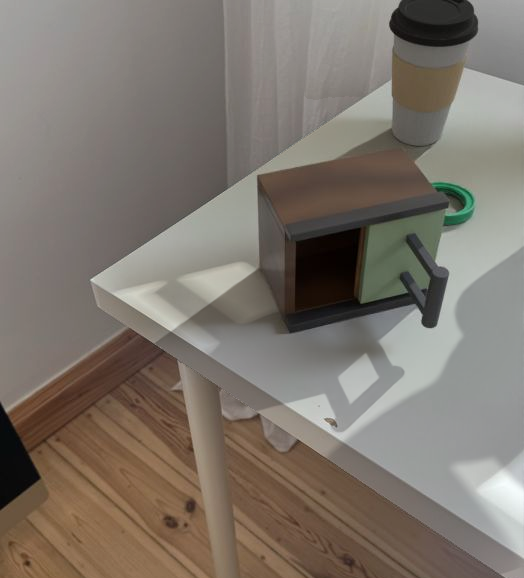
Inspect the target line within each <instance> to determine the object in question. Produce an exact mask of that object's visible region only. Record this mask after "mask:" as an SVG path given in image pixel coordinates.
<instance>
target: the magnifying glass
mask: <svg viewBox="0 0 524 578" xmlns="http://www.w3.org/2000/svg"><path fill="white" fill-rule="evenodd" d="M429 182H430V183H431V184H432V186H433V187H434V188H435V190H436V191H437V192H440V191H442V192H443V193H444V194H448V195H452V196H454V197H456V198H458V199H459V200H460V201H461V202H462V204H463V206H464V208H462V209H461V210H459V211H457V212H453V213H445V218H444V223H443V226H451V225H458V224H461V223H464V222H466V221H468V220H469V219H470V218H472V216H473V214H474V212H475V208H476V203H477V202H476V197H475V196H474V194H473V193H472V192H471V191H470V190H469V189H468V188H466V187H464V186H462V185H459V184H458V183H457V184H456V183H453V182H450V181H429Z"/></svg>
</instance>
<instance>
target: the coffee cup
mask: <svg viewBox="0 0 524 578" xmlns="http://www.w3.org/2000/svg"><path fill="white" fill-rule="evenodd" d="M397 6H398V7H396V8H395V9H394V10H393V12H392V13H391V16H390V19H389V21H388V27H389V29H390V32H391V33H392V34H393V46H392V49H391V98H392V115H391V116H392V121H391V123H392V127H391V128H392V129H391V131H392V134H393V136H394V137H395V138H396V139H397V140H398V141H399V142H401V143H404V144H407V145H410V146H414V147H424V146H429V145H432V144H434V143H436V142H438V141H439V140H440V139H441V137H442V136H443V132H444V129H445V125H446V122H447V119H448V116H449V114H450V109H451V106H452V104H453V102H454V101H455V98H456V95H457V92H458V88H459V86H460V82H461V78H462V75H463V72H464V69H465V66H466V63H467V59H468V57H469V49H470V45H471V41H472V40H473V39H474V38H475V37H476V36H477V34H478V32H479V19H478V17H477V15H476V13H475V7H474V5H473V3H471V1H469V0H400V2H399V3H398V5H397Z"/></svg>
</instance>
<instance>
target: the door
mask: <svg viewBox="0 0 524 578" xmlns="http://www.w3.org/2000/svg"><path fill="white" fill-rule="evenodd" d="M445 214H447V209H443V210H438V211H434V212H429V213H425V214H420V215H415V216H411V217H406V218H401V219H397V220H392V221H388V222H383V223H378V224H374V225H369V226H366V232H365V241H364V250H363V259H362V268H361V277H360V286H359V295H358V300H359V302H360V303H361V304H362V303H367V302H371V301H375V300H379V299H383V298H388V297H392V296H396V295H400V294H405V293H409V294H410V296H411V298H412V299H413V301H414V302H415V303H414V304H415V306H416V308H417V309H418V310H419V311H420V313H421V320H420V324H421V325H422V326H423V327H424V328H425V329H435V328H436V327H437V326H438V323H439V319H440V315H441V310H442V306H443V302H444V297H445V293H446V289H447V285H448V281H449V277H450V271H449V269H448V268H446V267H445V266H440V265H438V263H437V262H436V260H437V255H438V250H439V245H440V241H441V236H442V232H443V228H444V225H443V223H444V218H445ZM426 288H428V291H427V296H426V297H425V296H424V294H423V293H422V291H421V289H426Z"/></svg>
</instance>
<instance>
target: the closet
mask: <svg viewBox="0 0 524 578" xmlns="http://www.w3.org/2000/svg"><path fill="white" fill-rule="evenodd" d="M430 182H431V181H430V180H429V179H428V178H427V177H426V175H425V174H424V172H423V171H422V170H421V169H420V168H419V166H418V165H417V163H416V162H415V161H414V160H413V158H412V157H411V156H410V155H409V153H408V152H407V151H406V149H405V148H404V147H403V146H401V145H400V146H395V147H391V148H387V149H381V150H376V151H370V152H366V153H361V154H356V155H351V156H345V157H340V158H335V159H331V160H326V161H320V162H316V163H315V162H314V163H310V164H306V165H301V166H295V167H290V168H285V169H280V170H275V171H269V172H265V173H260V174H257V175H256V189H257V191H256V193H257V223H258V224H257V226H258V258H259V259H258V261H259V268H260V271H261V273H262V276H263V278H264V281H265V282H266V285H267V286H268V288H269V291H270V293H271V295H272V298H273V300H274V302H275V304H276V306H277V308H278V311H279V313H280V315H281V317H282V319H283V322H284V324H285V326H286V329H287V331H288V333H289V334H293V333H298V332H300V331H305V330H310V329H313V328H317V327H322V326H327V325H330V324H334V323H338V322H339V323H340V322H341V321H347V320H351V319H354V318H355V319H356V318H359V317H364V316H367V315H372V314H375V313H380V312H384V311H388V310H393V309H397V308H400V307H405V306H409V305H412V304H415V302H414V301H413V299H412V298H411V296H410V294H409V293H405V294H400V295H396V296H392V297H388V298H383V299H379V300H375V301H371V302H367V303H362V304H361V303H360V302H359V300H358V295H359V286H360V277H361V268H362V259H363V250H364V241H365V232H366V226H369V225H374V224H378V223H383V222H388V221H392V220H397V219H401V218H406V217H411V216H415V215H420V214H425V213H429V212H434V211H438V210H443V209H446V210H447V209H449V208H450V203H451V200H450V199H449V198H448V196H447V195H446V193H444V192H442V191H440V192H437V191H436V190H435V188H434V187H433V186H432V184H431V183H430ZM421 291H422V293H423V294H424V296H425V297H426V296H427V291H428V288H426V289H421Z"/></svg>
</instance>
